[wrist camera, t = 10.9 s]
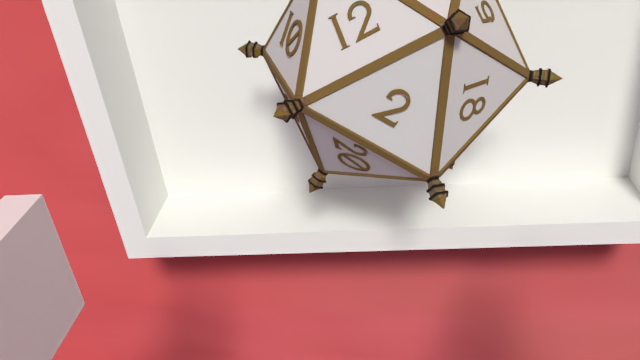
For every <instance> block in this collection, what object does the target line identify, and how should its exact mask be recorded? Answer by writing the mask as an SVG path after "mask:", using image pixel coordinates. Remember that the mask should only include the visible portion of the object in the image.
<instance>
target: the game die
mask: <svg viewBox="0 0 640 360" xmlns="http://www.w3.org/2000/svg"><path fill="white" fill-rule="evenodd" d="M238 50H239V51H241V52H242V53H243V54H244V55H245V56H246V58H251V57H253V58H258V56H263V57H264V59H265V61H266V63H267V65H268V67H269V69H270V71H271V73H272V75H273V77H274V79H275V81H276V83H277V85H278V87H279V89H280V91H281V94H282V96H283V98H284V101H283V102H278V103H277V108H276V111H275V113H274V116H273V117H275V118H278V119H281V120H284V121H285V122H286V123H288V122H289V120H290V119H291V118H292V119H294V120H295V122H296V124H297V126H298V128H299V130H300V132H301V134H302V136H303V138H304V140H305V142H306V144H307V146H308V148H309V150H310V152H311V154H312V156H313V158H314V160H315V162H316V164H317V166H318V171H317V172H314V173H313V174H312V175H311V176H312V178H310V179H309V180H308V182H309V193H311V192H313V191H315V190H318V189H323V184H324V183H326V175H327V174H338V175H350V176H362V177H374V178H386V179H398V180H410V181H422V182H427V183H428V190H426V191H427V193H429V195H430V198H428V199H429V200H431V201H433V202H435V203H436V204H438V205H439V206H440V207H442V208H443V209H444V208H445V202H446V197H448V190H447V191H446V190H445V183H442V182H441V181H440V180H439V178H440V177H441V176H442V175H443V174H444V173H445V171H446V170H447V169H448V168H449V169H453V165H454V164H455V161H456V160H457V158H458V157H459V156H460V155H461V154H462V153H463V152H464V151H465V150H466V149H467V148H468V146H469V145H470V144H471V143H472V142H473V141H474V140H475V139H476V138H477V137H478V136H479V135H480V133H481V132H482V131H483V130H484V129H485V128H486V127H487V126H488V125H489V124H490V123H491V121H492V120H493V119H494V118H495V117H496V116H497V115H498V114H499V113H500V112H501V111H502V110H503V108H504V107H505V106H506V105H507V104H508V103H509V102H510V101H511V100H512V99H513V98H514V96H515V95H516V94H517V93H518V92H519V91H520V90H521V89H522V88H523V87H524V86H525V85H526V83H527V82H533V83H535V84H537V86H539V85H544V86H545V88H547V87H548V85H550V84H553V83H555V82H557V81H559V80H561V79H563V78H561V77H560V76H558V75H557V74H555V73H554V72H552V71H551V69H550V68H548V70H542V68H539V70H534V71H532V70H529V67H528V65H527V63H526V61H525V58H524V56H523V54H522V52H521V50H520V47H519V45H518V43H517V41H516V38H515V36H514V34H513V32H512V29H511V27H510V25H509V23H508V21H507V18H506V16H505V14H504V12H503V9H502V7H501V5H500V3H499V0H290V1H289V3H288V5H287V7H286V8H285V10H284V12H283V14H282V16H281V17H280V19H279V21H278V23H277V25H276V26H275V28H274V30H273V32H272V34H271V35H270V37H269V39H268V41H267V43H266V44H265V45H263V46H262V45H260V44H258V42H256V41H255V43H252V42H251V41H250V40H249V41H248V43H246V44H245V45H243V46H241V47H240V48H238Z"/></svg>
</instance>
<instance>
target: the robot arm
mask: <svg viewBox="0 0 640 360" xmlns="http://www.w3.org/2000/svg"><path fill="white" fill-rule="evenodd" d="M84 305H85V303H84V300H83V297H82V295H81V292H80V290H79V287H78V285H77V282H76V280H75V277H74V274H73V272H72V269H71V267H70V264H69V262H68V259H67V257H66V254H65V251H64V249H63V246H62V244H61V241H60V239H59V236H58V233H57V231H56V228H55V226H54V223H53V221H52V218H51V216H50V213H49V210H48V208H47V205H46V203H45V200H44V198H43V195H42V194H36V195H11V196H4V197H3V198H2V199H1V200H0V360H51V359H52V358H53V356H54V355H55V353H56V351H57V350H58V348H59V346H60V345H61V343H62V341H63V340H64V338H65V336H66V335H67V333H68V331H69V330H70V328H71V326H72V325H73V323H74V321H75V320H76V318H77V316H78V315H79V313H80V311H81V310H82V308H83V306H84Z"/></svg>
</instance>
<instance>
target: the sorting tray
mask: <svg viewBox="0 0 640 360" xmlns="http://www.w3.org/2000/svg"><path fill="white" fill-rule="evenodd" d="M289 1H290V0H42V3H43V6H44V9H45V12H46V15H47V18H48V21H49V24H50V27H51V30H52V33H53V36H54V39H55V42H56V44H57V47H58V50H59V53H60V56H61V59H62V62H63V65H64V68H65V71H66V74H67V77H68V80H69V83H70V86H71V89H72V92H73V95H74V98H75V101H76V104H77V107H78V110H79V113H80V116H81V119H82V122H83V125H84V128H85V130H86V133H87V136H88V139H89V142H90V145H91V148H92V151H93V154H94V157H95V160H96V163H97V166H98V169H99V172H100V175H101V178H102V181H103V184H104V187H105V190H106V193H107V196H108V199H109V202H110V205H111V208H112V211H113V214H114V216H115V219H116V222H117V225H118V228H119V231H120V234H121V237H122V240H123V243H124V246H125V249H126V252H127V255H128V258H156V257H189V256H223V255H257V254H291V253H325V252H359V251H393V250H426V249H460V248H494V247H528V246H562V245H596V244H630V243H640V0H499V3H500V5H501V7H502V9H503V12H504V14H505V16H506V18H507V21H508V23H509V25H510V27H511V29H512V32H513V34H514V36H515V38H516V41H517V43H518V45H519V47H520V50H521V52H522V54H523V56H524V58H525V61H526V63H527V65H528V67H529V70H532V71H534V70H539V68H542V70H548V68H550V69H551V71H552V72H554V73H555V74H557V75H558V76H560V77H561V78H563V79H561V80H559V81H557V82H555V83H553V84H550V85H548V87H547V88H545V86H544V85H539V86H537V84H535V83H533V82H527V83H526V85H525V86H524V87H523V88H522V89H521V90H520V91H519V92H518V93H517V94H516V95H515V96H514V98H513V99H512V100H511V101H510V102H509V103H508V104H507V105H506V106H505V107H504V108H503V110H502V111H501V112H500V113H499V114H498V115H497V116H496V117H495V118H494V119H493V120H492V121H491V123H490V124H489V125H488V126H487V127H486V128H485V129H484V130H483V131H482V132H481V133H480V135H479V136H478V137H477V138H476V139H475V140H474V141H473V142H472V143H471V144H470V145H469V146H468V148H467V149H466V150H465V151H464V152H463V153H462V154H461V155H460V156H459V157H458V158H457V160H456V161H455V164H454V165H453V169H449V168H448V169H447V170H446V171H445V173H444V174H443V175H442V176H441V177H440V178H439V180H440V181H441V182H442V183H445V190H446V191H447V190H448V197H446V202H445V208H444V209H443V208H442V207H440V206H439V205H438V204H436V203H435V202H433V201H431V200H429V199H428V198H430V195H429V193H427V191H426V190H428V183H427V182H422V181H410V180H398V179H386V178H374V177H362V176H350V175H338V174H327V175H326V183H324V184H323V189H318V190H315V191H313V192H311V193H309V182H308V180H309V179H310V178H312V176H311V175H312V174H313V173H314V172H317V171H318V166H317V164H316V162H315V160H314V158H313V156H312V154H311V152H310V150H309V148H308V146H307V144H306V142H305V140H304V138H303V136H302V134H301V132H300V130H299V128H298V126H297V124H296V122H295V120H294V119H292V118H291V119H290V120H289V122H288V123H286V122H285V121H284V120H281V119H278V118H275V117H273V116H274V113H275V111H276V108H277V103H278V102H283V101H284V98H283V96H282V94H281V91H280V89H279V87H278V85H277V83H276V81H275V79H274V77H273V75H272V73H271V71H270V69H269V67H268V65H267V63H266V61H265V59H264V57H263V56H258V58H253V57H251V58H246V56H245V55H244V54H243V53H242V52H241V51H239V50H238V48H240V47H241V46H243V45H245V44H246V43H248V41H249V40H250V41H251V42H252V43H255V41H256V42H258V44H260V45H262V46H263V45H265V44H266V43H267V41H268V39H269V37H270V35H271V34H272V32H273V30H274V28H275V26H276V25H277V23H278V21H279V19H280V17H281V16H282V14H283V12H284V10H285V8H286V7H287V5H288V3H289Z"/></svg>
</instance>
